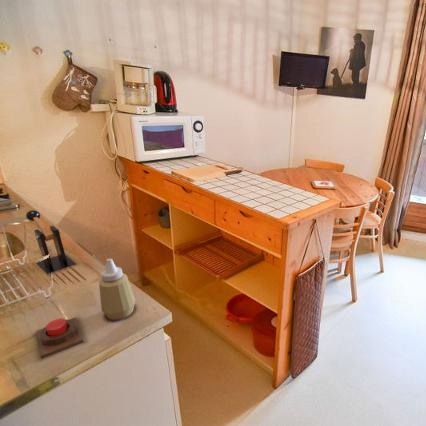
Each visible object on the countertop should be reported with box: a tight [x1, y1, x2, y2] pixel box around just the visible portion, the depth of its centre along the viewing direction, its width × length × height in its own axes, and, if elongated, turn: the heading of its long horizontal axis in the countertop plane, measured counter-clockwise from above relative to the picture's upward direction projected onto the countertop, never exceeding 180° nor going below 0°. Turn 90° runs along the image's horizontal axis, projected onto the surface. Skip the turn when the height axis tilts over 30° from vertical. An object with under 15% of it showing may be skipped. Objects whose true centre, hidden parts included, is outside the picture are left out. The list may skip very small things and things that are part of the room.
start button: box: [45, 318, 68, 336], centre depth 78 cm, size 4×4×2 cm
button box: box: [36, 316, 84, 359], centre depth 79 cm, size 10×8×4 cm
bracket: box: [33, 225, 77, 275], centre depth 105 cm, size 10×8×14 cm
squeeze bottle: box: [98, 257, 136, 321], centre depth 86 cm, size 8×8×18 cm
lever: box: [25, 209, 54, 242], centre depth 105 cm, size 14×4×4 cm, turn 55°
